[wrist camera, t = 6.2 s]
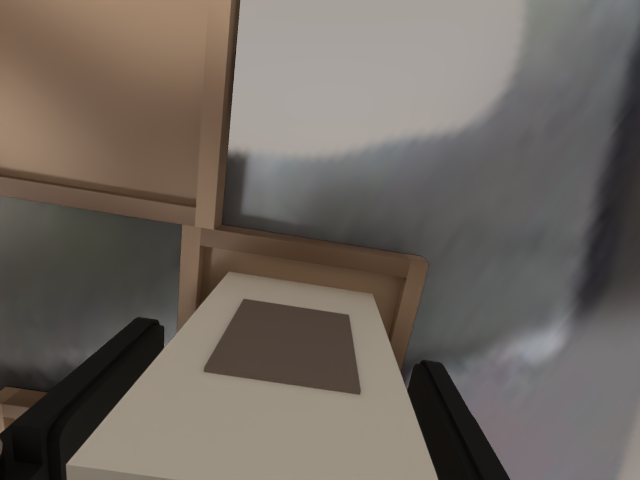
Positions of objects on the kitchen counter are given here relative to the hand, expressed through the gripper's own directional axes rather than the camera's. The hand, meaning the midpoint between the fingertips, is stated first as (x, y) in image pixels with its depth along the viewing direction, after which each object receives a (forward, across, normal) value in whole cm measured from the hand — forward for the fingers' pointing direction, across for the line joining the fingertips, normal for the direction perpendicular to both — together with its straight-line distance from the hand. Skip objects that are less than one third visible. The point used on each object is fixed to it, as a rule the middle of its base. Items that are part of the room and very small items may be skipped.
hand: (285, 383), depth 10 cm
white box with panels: (+2, 0, 0) cm, 2 cm away
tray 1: (+2, +7, -8) cm, 11 cm away
